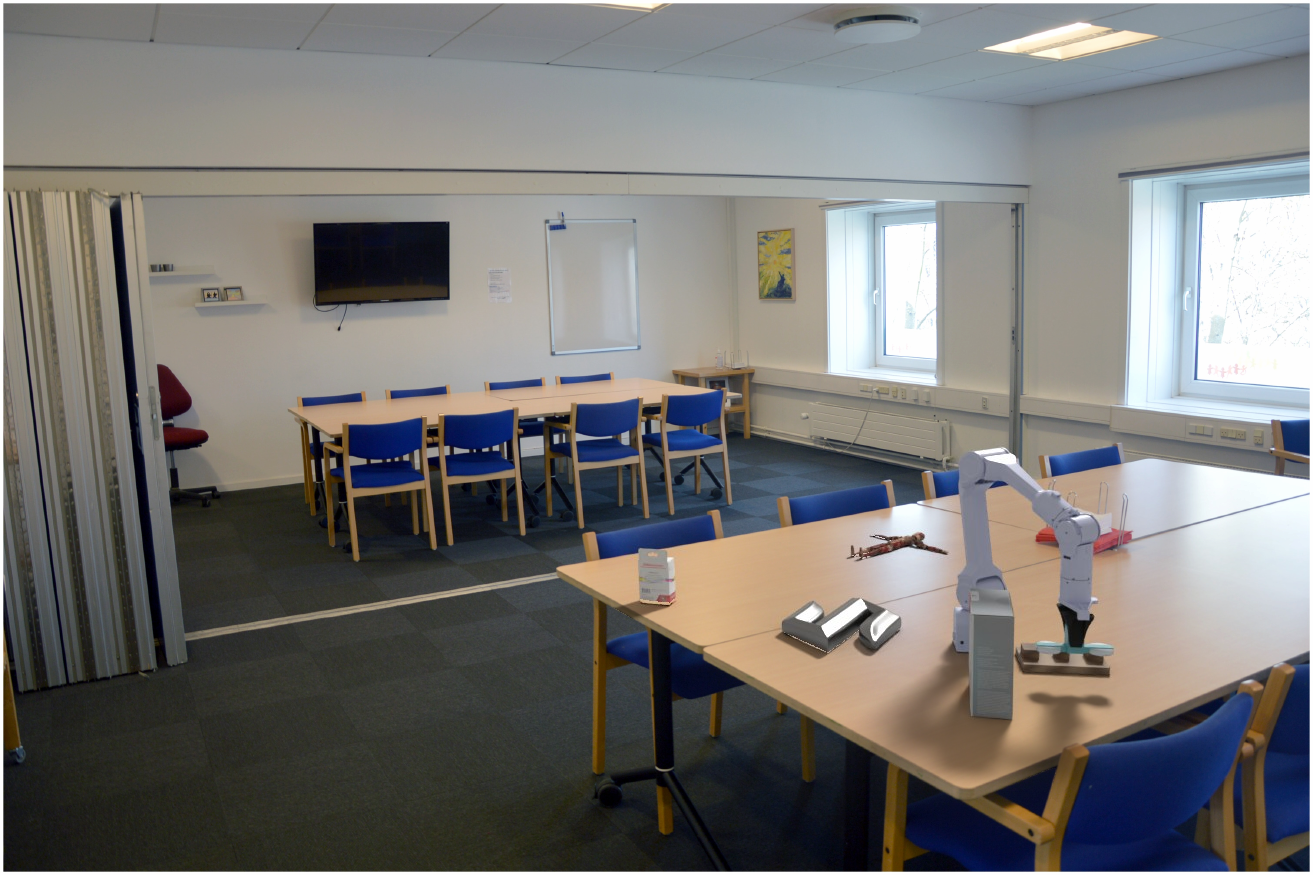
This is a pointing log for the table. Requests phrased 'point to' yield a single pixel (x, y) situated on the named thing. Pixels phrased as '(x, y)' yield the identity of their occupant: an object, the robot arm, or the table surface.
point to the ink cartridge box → (656, 576)
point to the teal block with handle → (1091, 648)
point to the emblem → (842, 624)
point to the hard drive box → (991, 653)
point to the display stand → (1060, 661)
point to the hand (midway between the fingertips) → (1073, 643)
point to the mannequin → (896, 545)
